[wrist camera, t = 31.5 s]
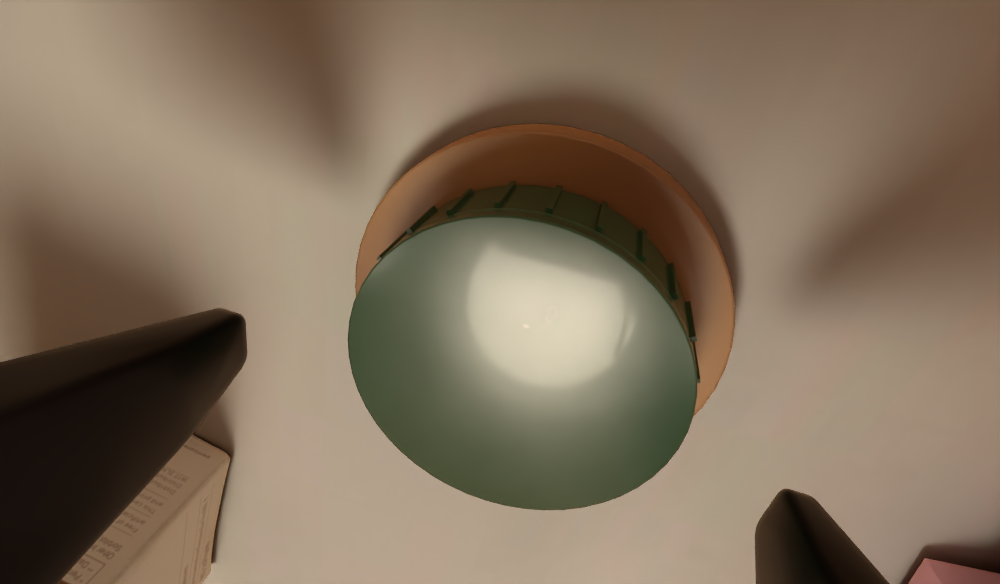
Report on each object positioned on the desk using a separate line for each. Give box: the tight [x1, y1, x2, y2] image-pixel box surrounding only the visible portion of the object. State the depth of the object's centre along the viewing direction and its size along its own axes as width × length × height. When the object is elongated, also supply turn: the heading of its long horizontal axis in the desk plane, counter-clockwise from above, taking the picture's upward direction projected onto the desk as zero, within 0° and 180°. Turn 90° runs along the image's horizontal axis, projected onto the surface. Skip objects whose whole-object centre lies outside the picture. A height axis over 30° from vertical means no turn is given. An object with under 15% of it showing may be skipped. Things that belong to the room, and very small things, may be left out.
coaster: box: [355, 124, 735, 415], centre depth 12 cm, size 8×8×1 cm
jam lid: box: [348, 181, 700, 510], centre depth 11 cm, size 7×7×2 cm
